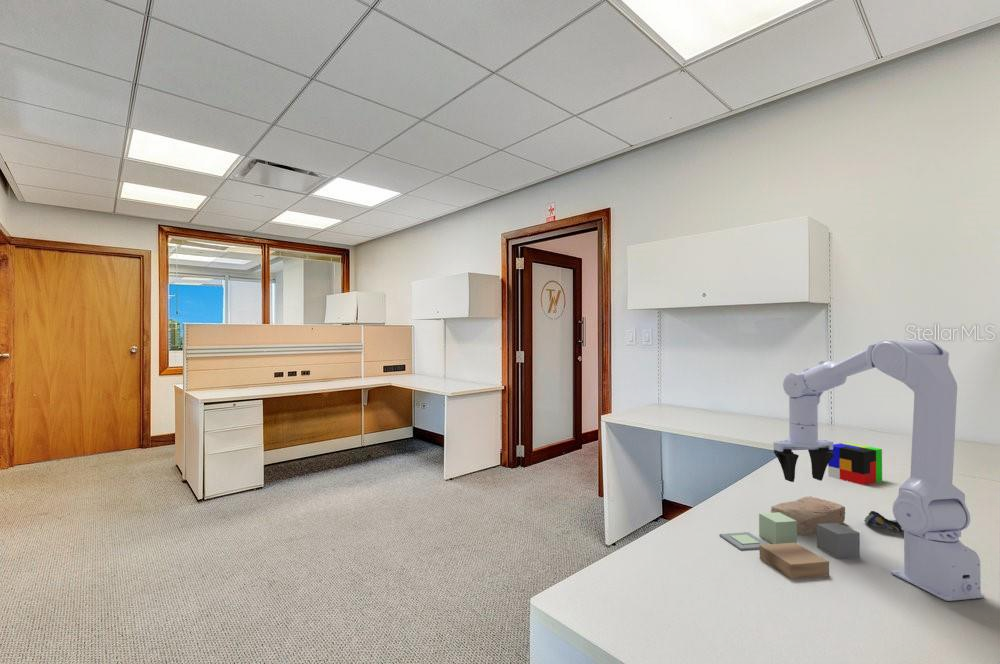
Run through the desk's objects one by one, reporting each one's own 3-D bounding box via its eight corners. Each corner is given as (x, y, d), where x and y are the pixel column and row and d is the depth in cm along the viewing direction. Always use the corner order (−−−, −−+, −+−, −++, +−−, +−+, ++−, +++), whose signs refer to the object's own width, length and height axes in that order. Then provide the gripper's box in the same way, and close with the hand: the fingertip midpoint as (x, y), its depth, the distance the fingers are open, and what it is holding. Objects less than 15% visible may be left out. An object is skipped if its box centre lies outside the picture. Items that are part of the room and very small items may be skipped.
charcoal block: (859, 557, 92) (859, 532, 92) (838, 559, 91) (837, 534, 91) (837, 546, 97) (837, 522, 97) (817, 547, 96) (816, 524, 96)
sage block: (796, 544, 98) (796, 521, 98) (776, 545, 97) (776, 522, 97) (779, 534, 102) (779, 512, 103) (759, 535, 102) (759, 513, 102)
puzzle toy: (828, 476, 147) (828, 445, 147) (846, 472, 151) (846, 442, 151) (863, 485, 138) (863, 452, 138) (882, 481, 142) (881, 449, 142)
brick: (803, 537, 101) (804, 516, 102) (767, 523, 109) (767, 503, 109) (846, 525, 109) (846, 505, 109) (810, 513, 116) (810, 494, 116)
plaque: (771, 548, 95) (771, 545, 95) (740, 550, 94) (740, 547, 94) (747, 533, 102) (748, 531, 102) (719, 535, 101) (719, 533, 101)
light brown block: (829, 577, 84) (829, 561, 85) (791, 581, 83) (790, 564, 83) (795, 557, 92) (794, 542, 92) (759, 560, 91) (759, 545, 91)
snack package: (883, 518, 113) (855, 525, 108) (889, 493, 112) (860, 498, 107) (947, 547, 102) (919, 556, 97) (954, 520, 101) (926, 527, 96)
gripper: (815, 419, 115) (816, 473, 115) (764, 421, 113) (764, 476, 112) (840, 425, 108) (841, 482, 108) (786, 426, 106) (786, 485, 105)
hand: (803, 480), depth 110 cm, fingers open, 7 cm apart
